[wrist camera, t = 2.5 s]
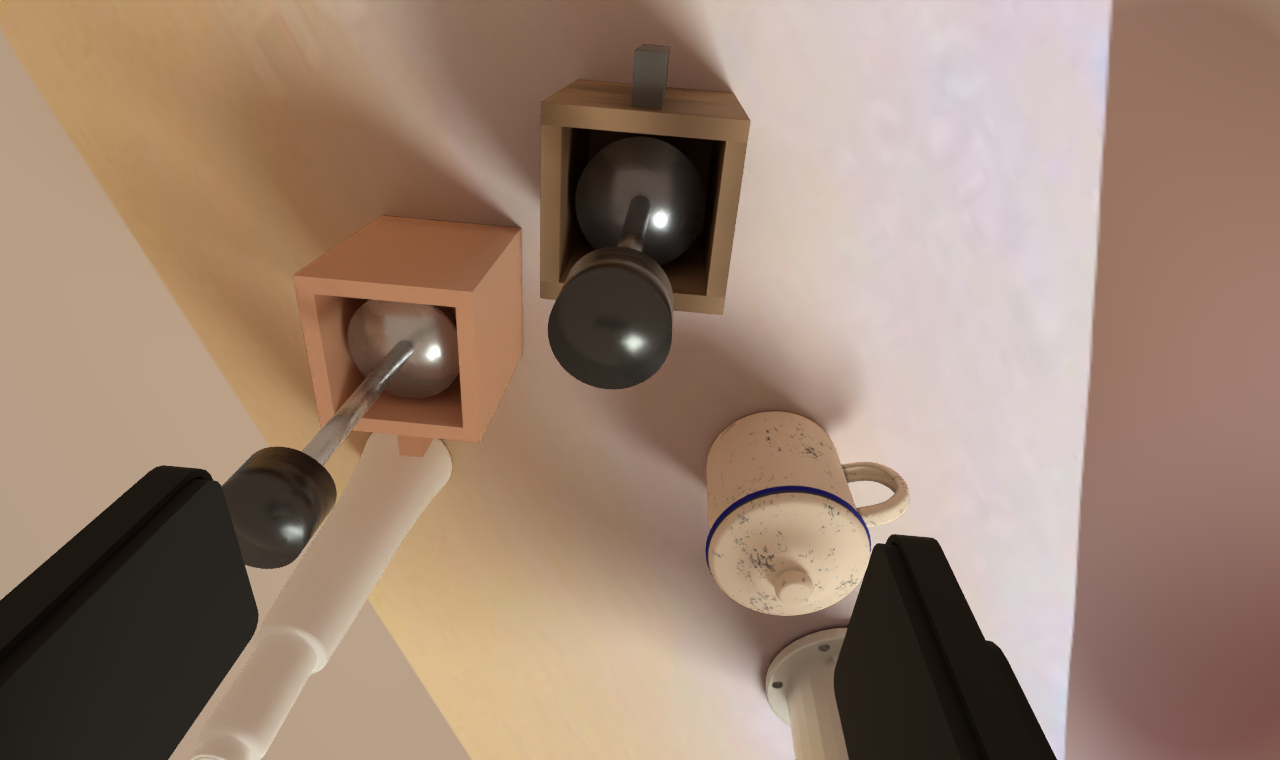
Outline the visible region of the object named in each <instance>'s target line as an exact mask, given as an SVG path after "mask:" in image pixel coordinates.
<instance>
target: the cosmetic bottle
mask: <svg viewBox="0 0 1280 760" xmlns="http://www.w3.org/2000/svg"><path fill="white" fill-rule="evenodd" d="M451 471H452V461H451V457H450V454H449V452H448V450H447V448H446V446H445V445H444V444H443V442H442V441H441V440H440V439H435V438H434V439H433V441H432V442H431V444H430V446H429V447H428V449H427V451H426V452H425V454H424V456H423V457H411V456H401V455H400V453H399V444H398V436H397V435H393V434H382V433H372V434H371V436H370V437H369V438H368V440H367V443H366V445H365V448H364V450H363V453H362V455H361V458H360V460H359V462H358V464H357V466H356V468H355V470H354V472H353V474H352V476H351V478H350V480H349V482H348V484H347V485H346V487H345V489H344V491H343V493H342V494H341V496H340V498H339V500H338V501H337V503H336V505H335V506H334V508H333V510H332V511H331V513H330V515H329V516H328V518H327V519H326V521H325V523H324V524H323V526H322V527H321V529H320V531H319V532H318V534H317V535H316V537H315V539H314V540H313V542H312V543H311V545H310V547H309V548H308V550H307V551H306V553H305V554H304V556H303V558H302V559H301V561H300V562H299V564H298V566H297V567H296V569H295V570H294V572H293V574H292V575H291V577H290V578H289V580H288V581H287V583H286V585H285V586H284V588H283V590H282V591H281V593H280V594H279V596H278V598H277V599H276V601H275V603H274V604H273V606H272V608H271V609H270V611H269V613H268V614H267V616H266V617H265V619H264V621H263V623H262V624H261V626H260V628H259V629H258V631H257V633H256V635H255V638H254V647H255V652H254V653H253V654H252V656H251V657H250V659H249V660H248V662H247V663H246V665H245V666H244V668H243V669H242V671H241V672H240V674H239V675H238V677H237V678H236V679H235V681H234V682H233V684H232V685H231V687H230V688H229V690H228V691H227V693H226V694H225V696H224V697H223V699H222V701H221V702H220V703H219V705H218V706H217V708H216V709H215V711H214V712H213V714H212V715H211V717H210V718H209V719H208V721H207V722H206V724H205V726H204V727H203V729H202V730H201V733H200V737H199V744H200V747H199V748H198V749H197V750H196V751H195V752H194V754H193V756H192V757H191V758H190V760H260V759H261V758H262V757H263V756H264V755H265V753H266V752H267V750H268V748H269V746H270V745H271V743H272V741H273V739H274V738H275V736H276V734H277V732H278V731H279V728H280V727H281V725H282V723H283V722H284V720H285V718H286V716H287V715H288V713H289V711H290V709H291V708H292V705H293V704H294V702H295V700H296V699H297V697H298V695H299V693H300V692H301V690H302V688H303V686H304V684H305V683H306V681H307V679H308V678H309V676H310V674H313V673H316V672H318V671H319V670H321V669H322V668H323V667H324V666H325V665H326V663H327V662H328V660H329V658H330V657H331V656H332V654H333V653H334V651H335V650H336V648H337V646H338V645H339V643H340V642H341V640H342V638H343V637H344V636H345V634H346V632H347V631H348V629H349V628H350V626H351V624H352V623H353V621H354V619H355V618H356V616H357V615H358V613H359V611H360V610H361V608H362V607H363V605H364V603H365V602H366V600H367V598H368V597H369V595H370V593H371V592H372V590H373V589H374V587H375V585H376V584H377V582H378V580H379V579H380V577H381V575H382V574H383V572H384V570H385V569H386V567H387V566H388V564H389V562H390V561H391V559H392V558H393V556H394V554H395V553H396V551H397V550H398V548H399V546H400V545H401V543H402V542H403V540H404V538H405V537H406V535H407V534H408V532H409V531H410V529H411V528H412V526H413V525H414V523H415V522H416V521H417V519H418V518H419V516H420V515H421V513H422V512H423V511H424V509H425V508H426V507H427V505H428V504H429V503H430V501H431V500H432V499H433V498H434V497H435V495H436V494H437V493H438V492H439V491H440V490H441V489H442V488H443V486H444V485H445V484H446V483H447V482H448V480H449V478H450V475H451Z"/></svg>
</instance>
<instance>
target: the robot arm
mask: <svg viewBox="0 0 1280 760" xmlns="http://www.w3.org/2000/svg"><path fill="white" fill-rule="evenodd" d="M257 623H258V609H257V606H256V602H255V599H254V596H253V592H252V589H251V585H250V582H249V578H248V575H247V572H246V568H245V564H244V561H243V558H242V554H241V551H240V547H239V544H238V540H237V537H236V533H235V530H234V527H233V523H232V520H231V516H230V513H229V509H228V506H227V502H226V499H225V496H224V492H223V489H222V487H221V485H220V484H219V483H218V482H217V481H213V479H212V477H211V475H210V474H209V473H208V472H207V471H206V470H203V469H196V468H185V467H174V466H159V467H156V468H154V469H153V470H151V471H150V472H148V473H147V474H146V475H145V476H144V477H143V478H142V479H140V480H139V481H138V482H137V483H136V484H134V485H133V486H132V487H131V488H130V489H129V490H128V491H126V492H125V493H124V494H123V495H122V496H121V497H119V498H118V499H117V500H116V501H115V502H114V503H113V504H111V505H110V506H109V507H108V508H107V509H106V510H105V511H103V512H102V513H101V514H100V515H99V516H98V517H96V518H95V519H94V520H93V521H92V522H91V523H89V524H88V525H87V526H86V527H85V528H84V529H82V530H81V531H80V532H79V533H78V534H77V535H76V536H74V537H73V538H72V539H71V540H70V541H69V542H67V543H66V544H65V545H64V546H63V547H62V548H61V549H59V550H58V551H57V552H56V553H55V554H54V555H52V556H51V557H50V558H49V559H48V560H47V561H45V563H43V564H42V565H41V566H40V567H39V568H37V569H36V570H35V571H34V572H33V573H32V574H31V575H29V576H28V577H27V578H26V579H25V580H24V581H22V582H21V583H20V584H19V585H18V586H17V587H15V588H14V589H13V590H12V591H11V592H10V593H9V594H8V595H6V596H5V597H4V598H3V599H2V600H0V760H168V759H169V757H170V756H171V754H172V753H173V752H174V750H175V749H176V747H177V746H178V744H179V743H180V742H181V740H182V739H183V737H184V736H185V734H186V733H187V731H188V730H189V728H190V727H191V725H192V724H193V723H194V721H195V720H196V718H197V717H198V715H199V714H200V712H201V711H202V710H203V708H204V707H205V705H206V704H207V702H208V701H209V699H210V698H211V696H212V695H213V693H214V692H215V691H216V689H217V688H218V686H219V685H220V683H221V682H222V680H223V679H224V678H225V676H226V675H227V673H228V672H229V670H230V669H231V667H232V666H233V664H234V663H235V662H236V660H237V659H238V657H239V656H240V654H241V653H242V651H243V650H244V648H245V647H246V645H247V644H248V643H249V641H250V640H251V638H252V636H253V635H254V632H255V630H256V627H257ZM766 693H767V700H768V702H769V705H770V707H771V709H772V710H773V712H774V713H775V714H776V716H777V717H778V718H779V719H780V720H782V721H783V722H784V723H785V724H786V725H788V726H790V727H791V732H792V738H793V745H794V752H795V759H796V760H1057V759H1056V757H1055V755H1054V753H1053V751H1052V749H1051V747H1050V745H1049V743H1048V741H1047V739H1046V737H1045V735H1044V733H1043V731H1042V729H1041V727H1040V725H1039V723H1038V721H1037V719H1036V717H1035V715H1034V713H1033V711H1032V709H1031V707H1030V705H1029V703H1028V700H1027V698H1026V696H1025V694H1024V692H1023V690H1022V688H1021V686H1020V684H1019V682H1018V680H1017V678H1016V676H1015V674H1014V672H1013V670H1012V668H1011V666H1010V664H1009V662H1008V660H1007V658H1006V657H1005V655H1004V654H1003V652H1002V651H1001V649H1000V648H999V647H998V646H997V645H996V644H994V643H993V642H992V641H986V640H985V638H984V636H983V634H982V632H981V630H980V628H979V626H978V624H977V622H976V620H975V617H974V615H973V613H972V611H971V609H970V607H969V605H968V603H967V601H966V599H965V597H964V594H963V592H962V590H961V588H960V586H959V584H958V582H957V580H956V578H955V576H954V573H953V571H952V569H951V567H950V565H949V563H948V561H947V559H946V557H945V555H944V552H943V550H942V548H941V546H940V545H939V543H938V542H937V540H935V539H934V538H928V537H917V536H907V535H896V534H894V535H891V536H890V537H889V538H888V540H887V542H886V544H880V543H879V544H876V545H875V546H874V548H873V551H872V554H871V557H870V560H869V563H868V566H867V569H866V572H865V576H864V579H863V582H862V585H861V588H860V591H859V594H858V597H857V600H856V604H855V607H854V610H853V613H852V616H851V619H850V622H849V625H848V628H834V629H828V630H822V631H819V632H816V633H812V634H809V635H807V636H805V637H802V638H800V639H798V640H796V641H794V642H793V643H791V644H790V645H788V646H787V647H786V648H784V649H783V650H782V651H781V652H780V653H779V654H778V655H777V656H776V657H775V658H774V660H773V661H772V663H771V665H770V666H769V668H768V672H767V675H766Z"/></svg>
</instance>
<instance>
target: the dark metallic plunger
mask: <svg viewBox="0 0 1280 760" xmlns="http://www.w3.org/2000/svg"><path fill="white" fill-rule="evenodd" d="M575 207H576V214H577V219H578V222H579V225H580V228H581V230H582V232H583V234H584V236H585V237H586V239H587V240H588V242H589V243H590V244H591V245H592V247H593V248H594V249H595V250H594V251H592V252H590V253H588V254H586V255H585V256H583V257H582V258H581V259H580V260H579V261H577V262H576V263H575V265H574V266H573V267H572V268H571V270H570V272H569V273H568V275H567V277H566V280H565V282H564V284H563V286H562V288H561V291H560V293H559V295H558V297H557V300H556V302H555V304H554V306H553V309H552V311H551V314H550V317H549V322H548V338H549V342H550V346H551V349H552V351H553V353H554V355H555V357H556V359H557V360H558V362H559V363H560V364H561V366H562V367H563V368H564V369H565V370H566V371H567V372H568V373H569V374H571V375H572V376H573V377H575V378H576V379H578V380H580V381H582V382H583V383H586V384H588V385H591V386H594V387H598V388H604V389H622V388H627V387H631V386H634V385H637V384H639V383H641V382H644V381H645V380H647V379H648V378H650V377H651V376H652V375H653V374H655V373H656V372H657V371H658V370H659V368H660V367H661V366H662V364H663V363H664V362H665V360H666V358H667V356H668V353H669V350H670V346H671V341H672V318H673V291H672V287H671V284H670V281H669V279H668V277H667V275H666V273H665V272H664V270H663V269H662V268H661V266H660V265H663V264H666V263H668V262H670V261H672V260H674V259H676V258H677V257H678V256H680V255H681V254H682V253H683V252H685V251H686V250H687V249H688V248H689V246H690V245H691V244H692V243H693V241H694V240H695V238H696V237H697V235H698V233H699V231H700V229H701V226H702V223H703V220H704V215H705V191H704V186H703V182H702V179H701V176H700V173H699V171H698V169H697V167H696V166H695V164H694V163H693V161H692V160H691V159H690V157H689V156H688V155H687V154H686V153H685V152H684V151H683V150H681V149H680V148H679V147H678V146H676V145H675V144H673V143H671V142H669V141H667V140H665V139H663V138H659V137H656V136H651V135H629V136H625V137H621V138H619V139H616V140H614V141H612V142H610V143H608V144H607V145H605V146H604V147H603V148H601V149H600V150H599V151H598V152H597V153H596V154H595V155H594V156H593V157H592V158H591V160H590V161H589V162H588V164H587V165H586V167H585V169H584V171H583V172H582V174H581V177H580V179H579V182H578V185H577V190H576V198H575Z"/></svg>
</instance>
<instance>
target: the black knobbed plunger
mask: <svg viewBox="0 0 1280 760" xmlns="http://www.w3.org/2000/svg"><path fill="white" fill-rule="evenodd" d="M347 339H348V347H349V351H350V354H351V356H352V359H353V361H354V363H355V364H356V366H357V367H358V369H359V370H360V371H361V373H362V374H363V375H364V376H365V377H366V379H365V380H364V381H363V382H362V384H361V385H360V386H359V387H358V388H357V389H356V390H355V392H354V393H353V394H352V395H351V396H350V397H349V398H348V400H347V401H346V402H345V403H344V404H343V405H342V406H341V408H340V409H339V410H338V411H337V412H336V413H335V414H334V416H333V417H332V418H331V419H330V420H329V421H328V422H327V424H326V425H325V426H324V427H323V428H322V429H321V430H320V432H319V433H318V434H317V435H316V436H315V437H314V438H313V440H312V441H311V442H310V443H309V444H308V445H307V446H306V448H305V449H304V450H303V451H302V452H301V451H298V450H295V449H291V448H286V447H269V448H264V449H262V450H259V451H258V452H256V453H254V454H253V455H252V456H251V457H250V458H249V459H248V460H247V461H246V462H245V463H244V464H243V465H242V466H241V467H240V468H239V469H238V470H237V471H236V472H235V474H233V476H232V477H230V478H229V479H228V481H226V482H225V484H223V486H222V489H223V492H224V496H225V499H226V502H227V506H228V509H229V513H230V516H231V520H232V523H233V527H234V530H235V533H236V537H237V540H238V544H239V547H240V551H241V554H242V558H243V561H244V564H245V565H248V566H252V567H256V568H263V569H273V568H280V567H283V566H286V565H288V564H290V563H291V562H293V561H294V560H295V559H296V558H297V557H298V556H299V554H300V553H301V551H302V550H303V549H304V547H305V546H306V544H307V543H308V542H309V540H310V539H311V537H312V536H313V535H314V533H315V532H316V530H317V529H318V528H319V526H320V525H321V523H322V522H323V521H324V519H325V518H326V516H327V515H328V514H329V512H330V511H331V509H332V508H333V506H334V504H335V502H336V496H337V492H336V487H335V483H334V481H333V479H332V477H331V475H330V474H329V473H328V471H327V470H326V469H325V468H324V467H323V466H324V464H325V463H326V462H327V461H328V459H329V458H330V457H331V456H332V454H333V453H334V452H335V451H336V449H337V448H338V447H339V446H340V444H341V443H342V442H343V441H344V439H345V438H346V437H347V436H348V434H349V433H350V432H351V431H352V429H353V428H354V427H355V426H356V424H357V423H358V422H359V421H360V419H361V418H362V417H363V416H364V414H365V413H366V412H367V411H368V409H369V408H370V407H371V406H372V404H373V403H374V402H375V401H376V399H377V398H378V397H379V396H380V394H381V393H382V392H383V391H386V392H388V393H390V394H393V395H396V396H400V397H404V398H415V399H418V398H426V397H431V396H433V395H436V394H438V393H440V392H442V391H444V390H445V389H446V388H448V387H449V386H450V385H451V384H452V382H453V381H454V380H455V378H456V377H457V375H458V373H459V372H460V370H459V354H458V338H457V323H456V319H455V318H454V317H453V315H452V314H451V313H450V312H449V311H448V310H447V309H446V308H445V307H444V306H438V305H427V304H416V303H405V302H394V301H383V300H372V299H369V300H368V301H367V302H365V303H364V304H363V305H362V306H361V307H360V308H359V309H358V310H357V311H356V312H355V314H354V315H353V317H352V319H351V321H350V324H349V328H348V335H347Z"/></svg>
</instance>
